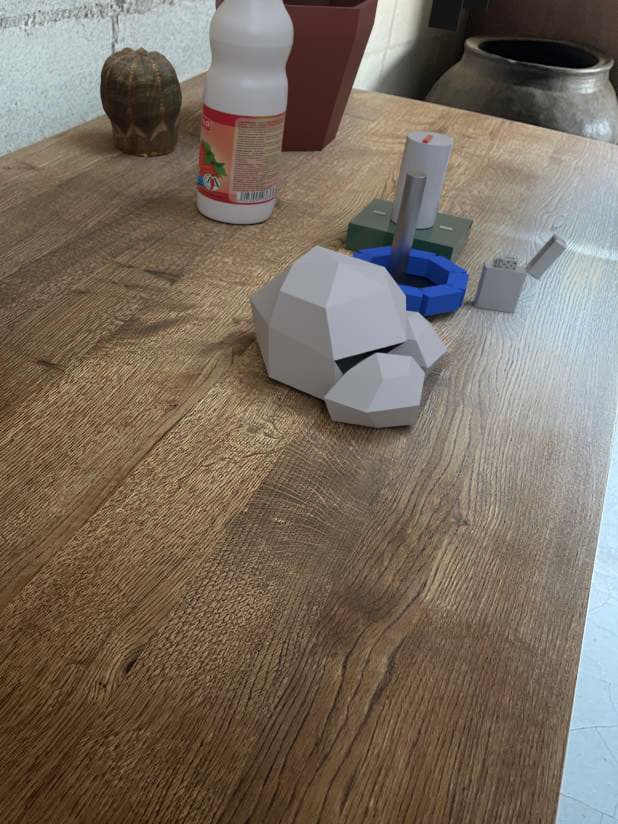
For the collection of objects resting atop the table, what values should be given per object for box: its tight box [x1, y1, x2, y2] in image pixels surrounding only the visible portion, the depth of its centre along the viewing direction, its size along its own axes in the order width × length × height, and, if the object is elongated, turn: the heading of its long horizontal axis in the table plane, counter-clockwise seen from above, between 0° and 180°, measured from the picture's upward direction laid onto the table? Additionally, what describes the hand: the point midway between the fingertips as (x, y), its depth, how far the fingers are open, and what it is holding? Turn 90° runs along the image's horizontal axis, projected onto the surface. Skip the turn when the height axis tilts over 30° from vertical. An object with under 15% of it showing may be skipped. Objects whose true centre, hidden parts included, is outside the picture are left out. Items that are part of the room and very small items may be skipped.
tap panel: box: [344, 197, 474, 264], centre depth 105 cm, size 12×10×3 cm
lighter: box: [473, 233, 568, 314], centre depth 93 cm, size 7×2×8 cm, turn 80°
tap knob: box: [391, 130, 455, 229], centre depth 101 cm, size 5×5×9 cm
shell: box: [99, 46, 183, 158], centre depth 124 cm, size 11×11×12 cm
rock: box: [249, 245, 449, 429], centre depth 78 cm, size 18×20×10 cm
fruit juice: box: [195, 0, 294, 225], centre depth 102 cm, size 9×9×28 cm
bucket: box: [214, 0, 379, 152], centre depth 129 cm, size 24×22×25 cm
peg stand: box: [387, 170, 438, 317], centre depth 93 cm, size 9×9×12 cm
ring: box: [351, 246, 470, 317], centre depth 94 cm, size 12×12×2 cm
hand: (458, 18), depth 92 cm, fingers open, 13 cm apart
